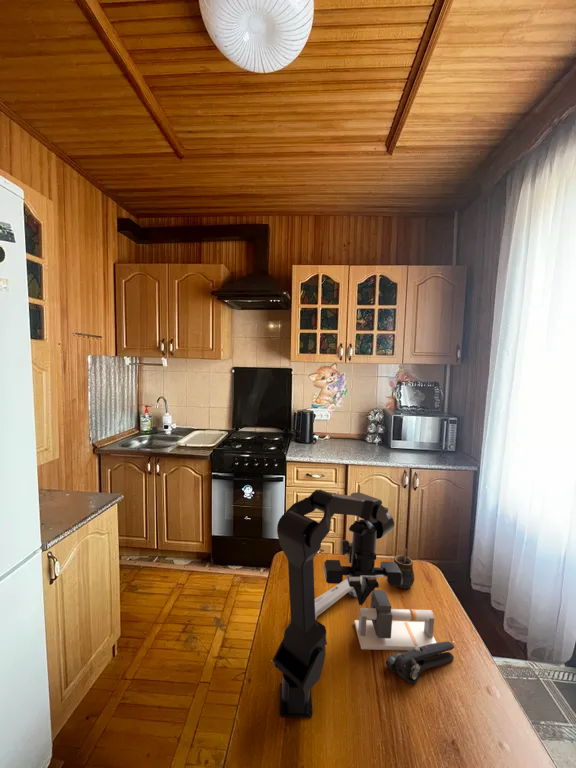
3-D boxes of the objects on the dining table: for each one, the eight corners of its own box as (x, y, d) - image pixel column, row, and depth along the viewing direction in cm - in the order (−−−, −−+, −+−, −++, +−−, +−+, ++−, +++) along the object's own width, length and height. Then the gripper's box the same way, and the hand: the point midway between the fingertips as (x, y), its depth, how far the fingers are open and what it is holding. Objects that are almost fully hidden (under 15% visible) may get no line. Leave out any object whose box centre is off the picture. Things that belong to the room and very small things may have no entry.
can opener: (401, 693, 73) (403, 669, 73) (382, 665, 80) (383, 642, 79) (464, 670, 79) (467, 647, 79) (441, 645, 86) (443, 624, 85)
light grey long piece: (293, 605, 92) (355, 561, 107) (295, 627, 93) (356, 581, 108) (306, 617, 88) (369, 570, 103) (308, 640, 89) (369, 590, 104)
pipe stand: (438, 651, 84) (441, 623, 83) (361, 649, 84) (363, 620, 83) (425, 625, 92) (427, 599, 91) (354, 623, 91) (356, 597, 91)
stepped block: (390, 640, 83) (392, 609, 83) (378, 640, 83) (380, 609, 83) (381, 615, 91) (383, 587, 91) (370, 615, 91) (371, 586, 91)
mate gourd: (389, 588, 106) (391, 557, 105) (389, 574, 113) (391, 545, 113) (414, 594, 104) (416, 562, 103) (413, 579, 111) (415, 549, 111)
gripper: (391, 529, 94) (387, 583, 95) (322, 527, 93) (319, 581, 95) (405, 553, 83) (401, 614, 84) (328, 550, 82) (324, 612, 84)
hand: (360, 604), depth 87 cm, fingers closed
